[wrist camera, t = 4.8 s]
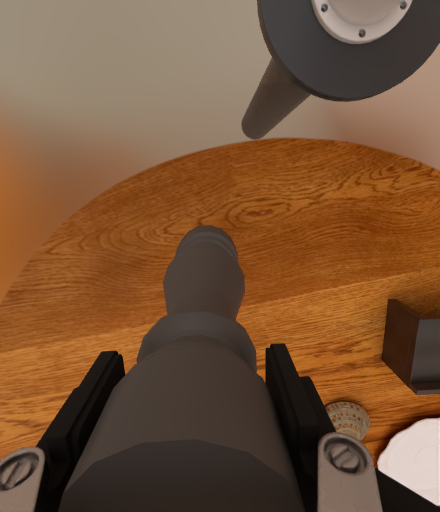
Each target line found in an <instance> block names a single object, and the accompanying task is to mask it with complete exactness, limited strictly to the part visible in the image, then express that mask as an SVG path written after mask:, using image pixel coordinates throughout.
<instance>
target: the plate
mask: <svg viewBox="0 0 440 512" xmlns="http://www.w3.org/2000/svg"><path fill="white" fill-rule="evenodd" d="M377 464H378V470H379V471H381V472H382V473H384V474H386V475H387V476H389V477H391V478H392V479H394V480H396V481H397V482H399V483H401V484H402V485H404V486H406V487H407V488H409V489H411V490H412V491H414V492H415V493H417V494H419V495H420V496H422V497H424V498H425V499H427V500H429V501H430V502H432V503H434V504H435V505H440V418H426V419H423V420H420V421H417V422H415V423H414V424H413V425H411V426H410V427H409V428H407V429H405V430H403V431H401V432H398V433H397V434H396V435H395V436H394V437H392V438H391V439H390V441H389V443H388V445H387V447H386V449H385V450H384V451H383V452H382V453H381V454H380V456H379V459H378V462H377Z"/></svg>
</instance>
